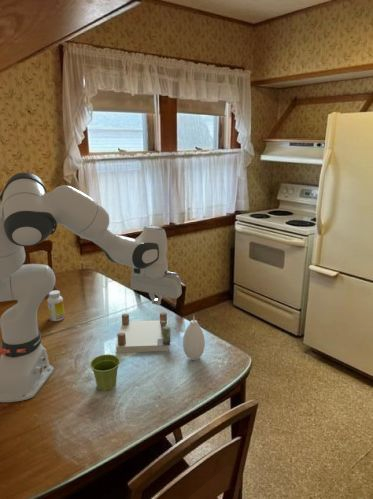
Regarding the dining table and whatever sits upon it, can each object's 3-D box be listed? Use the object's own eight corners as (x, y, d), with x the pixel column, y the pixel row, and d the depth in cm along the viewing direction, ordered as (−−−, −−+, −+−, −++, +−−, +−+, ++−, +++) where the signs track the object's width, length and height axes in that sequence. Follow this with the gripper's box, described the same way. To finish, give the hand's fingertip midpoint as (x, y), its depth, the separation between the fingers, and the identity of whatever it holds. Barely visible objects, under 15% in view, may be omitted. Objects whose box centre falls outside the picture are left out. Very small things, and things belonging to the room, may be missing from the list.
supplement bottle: (67, 315, 169) (64, 289, 165) (61, 322, 162) (58, 295, 159) (53, 314, 169) (50, 289, 166) (46, 321, 163) (43, 295, 159)
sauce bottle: (186, 366, 131) (186, 321, 125) (180, 354, 138) (180, 311, 133) (207, 362, 133) (207, 318, 127) (200, 351, 140) (201, 308, 135)
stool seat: (170, 351, 140) (169, 336, 138) (116, 353, 139) (115, 338, 137) (169, 325, 160) (168, 311, 158) (121, 326, 158) (121, 313, 156)
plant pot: (108, 372, 127) (107, 350, 125) (127, 383, 122) (125, 361, 119) (86, 386, 120) (84, 363, 118) (104, 398, 115) (102, 374, 112)
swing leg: (166, 329, 150) (166, 317, 149) (171, 342, 140) (170, 329, 139) (159, 330, 150) (159, 317, 148) (163, 343, 140) (163, 330, 138)
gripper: (184, 271, 131) (184, 306, 136) (137, 262, 140) (138, 295, 144) (176, 276, 126) (176, 313, 130) (127, 267, 135) (129, 301, 139)
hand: (156, 303), depth 137 cm, fingers closed
